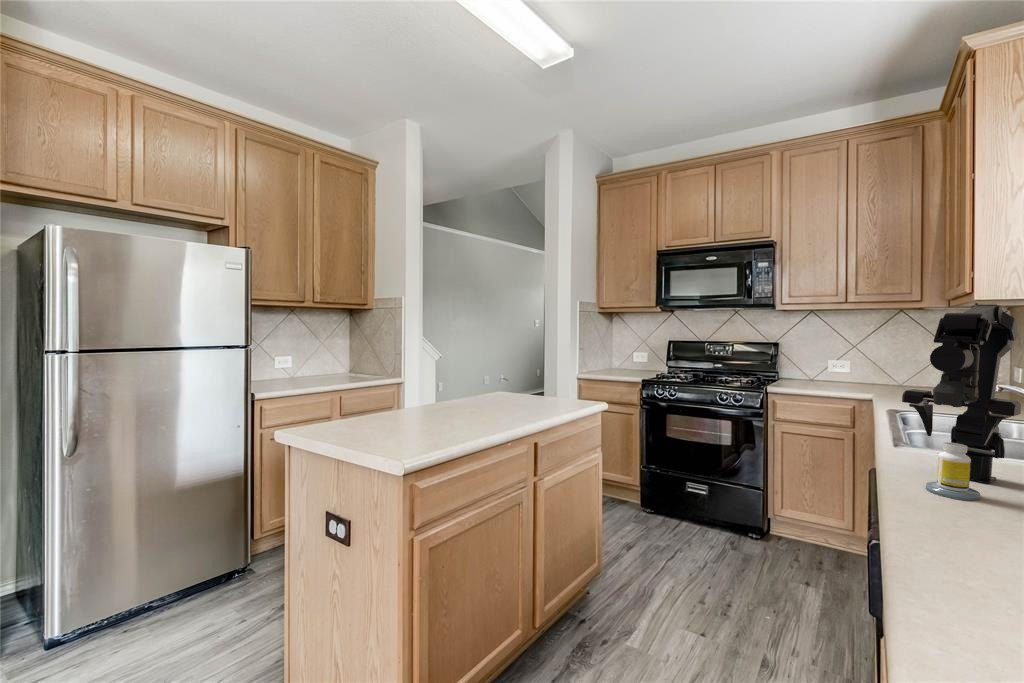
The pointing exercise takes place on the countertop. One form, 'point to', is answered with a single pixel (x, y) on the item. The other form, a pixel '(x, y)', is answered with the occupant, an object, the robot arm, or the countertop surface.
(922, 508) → the countertop surface
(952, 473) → the supplement bottle
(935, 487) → the dish
